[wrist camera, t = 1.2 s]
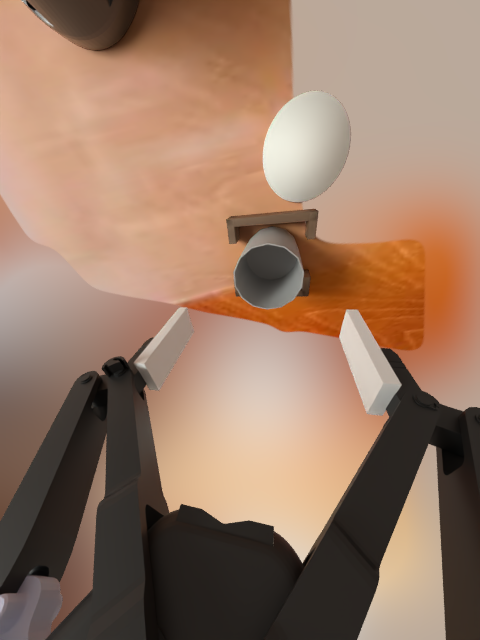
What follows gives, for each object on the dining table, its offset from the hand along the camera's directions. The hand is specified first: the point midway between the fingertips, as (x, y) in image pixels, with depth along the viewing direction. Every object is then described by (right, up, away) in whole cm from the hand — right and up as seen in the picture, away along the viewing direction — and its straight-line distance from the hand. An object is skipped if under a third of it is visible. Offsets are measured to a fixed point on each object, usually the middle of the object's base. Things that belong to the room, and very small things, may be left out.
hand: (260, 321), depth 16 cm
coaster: (+6, +20, +7) cm, 22 cm away
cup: (+3, +11, +15) cm, 19 cm away
